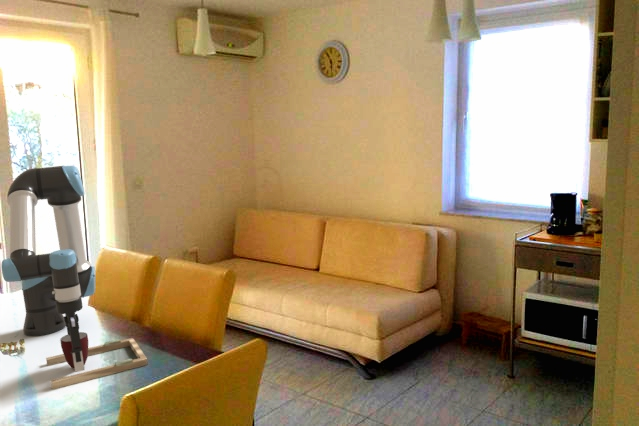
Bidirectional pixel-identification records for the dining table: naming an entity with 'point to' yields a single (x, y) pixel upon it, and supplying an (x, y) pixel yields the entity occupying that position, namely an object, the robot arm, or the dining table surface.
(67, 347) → the mug
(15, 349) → the dining table surface
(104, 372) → the track
